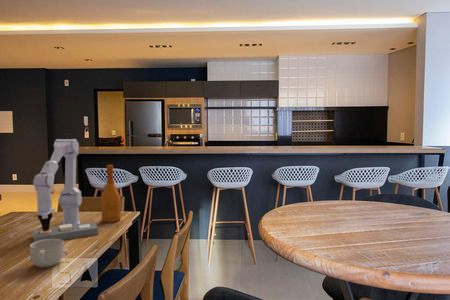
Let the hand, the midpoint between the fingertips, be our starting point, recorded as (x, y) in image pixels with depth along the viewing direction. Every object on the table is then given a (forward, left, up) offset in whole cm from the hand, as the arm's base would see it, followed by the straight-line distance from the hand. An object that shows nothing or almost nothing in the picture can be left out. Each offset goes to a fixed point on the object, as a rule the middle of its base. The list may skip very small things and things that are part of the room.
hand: (46, 230), depth 143 cm
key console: (0, +8, -4) cm, 9 cm away
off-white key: (0, +8, -1) cm, 8 cm away
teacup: (+33, -1, -4) cm, 33 cm away
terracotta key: (0, 0, -3) cm, 3 cm away
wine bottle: (-14, +31, -4) cm, 34 cm away
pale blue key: (0, +16, -3) cm, 16 cm away
